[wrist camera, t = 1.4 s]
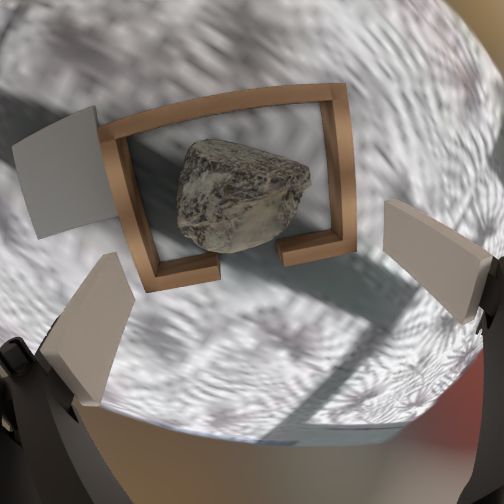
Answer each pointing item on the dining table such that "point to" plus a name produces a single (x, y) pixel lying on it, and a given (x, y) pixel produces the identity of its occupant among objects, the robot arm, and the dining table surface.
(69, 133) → the slate coaster
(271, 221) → the stone
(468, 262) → the robot arm
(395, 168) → the dining table surface
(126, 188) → the frame
